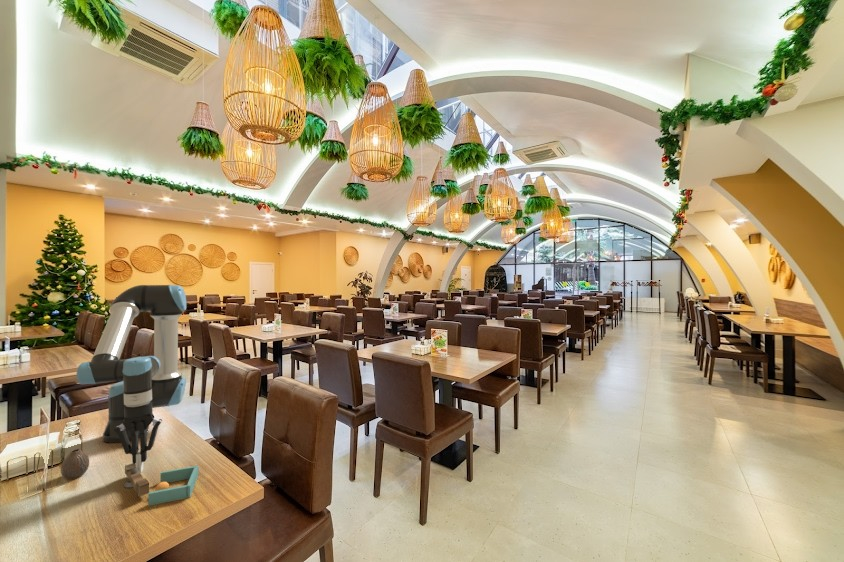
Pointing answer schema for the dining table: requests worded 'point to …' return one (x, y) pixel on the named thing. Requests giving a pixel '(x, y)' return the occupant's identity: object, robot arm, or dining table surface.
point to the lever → (136, 479)
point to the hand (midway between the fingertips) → (139, 471)
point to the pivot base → (128, 485)
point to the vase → (75, 464)
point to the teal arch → (175, 492)
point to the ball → (162, 486)
